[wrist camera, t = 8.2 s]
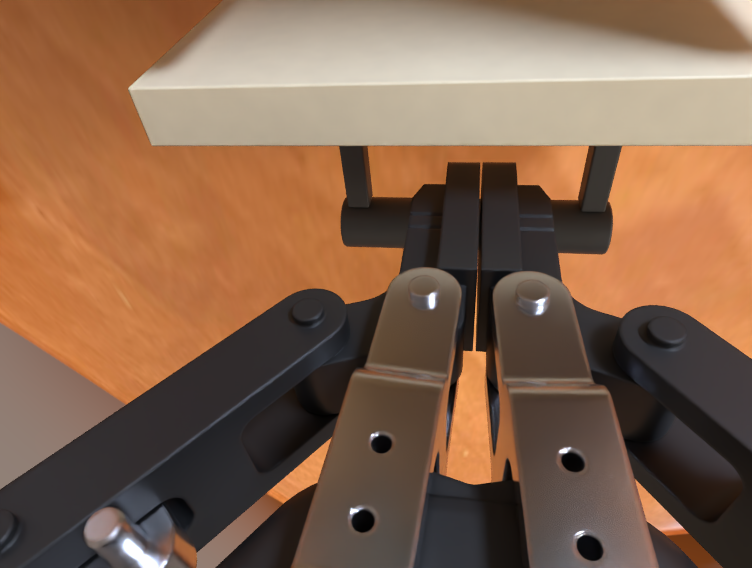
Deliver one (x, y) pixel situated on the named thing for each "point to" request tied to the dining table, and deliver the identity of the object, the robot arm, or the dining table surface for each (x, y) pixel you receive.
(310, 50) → the drawer
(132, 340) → the dining table surface
